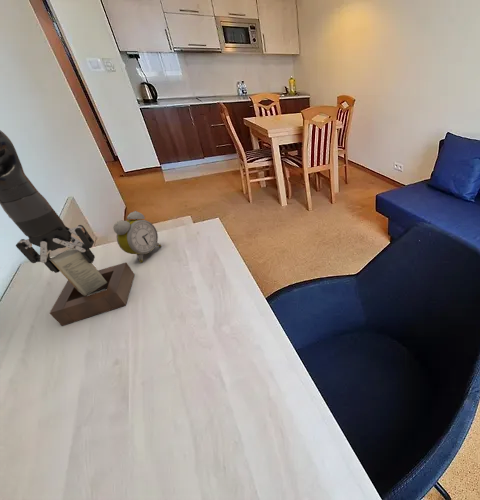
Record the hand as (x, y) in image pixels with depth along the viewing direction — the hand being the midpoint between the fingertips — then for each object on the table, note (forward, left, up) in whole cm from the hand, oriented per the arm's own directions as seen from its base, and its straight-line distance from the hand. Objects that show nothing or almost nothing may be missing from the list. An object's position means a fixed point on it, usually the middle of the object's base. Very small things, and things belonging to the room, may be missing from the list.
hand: (75, 266), depth 82 cm
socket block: (0, 0, -12) cm, 12 cm away
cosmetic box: (0, 0, -8) cm, 8 cm away
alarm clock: (+10, +19, -12) cm, 25 cm away
